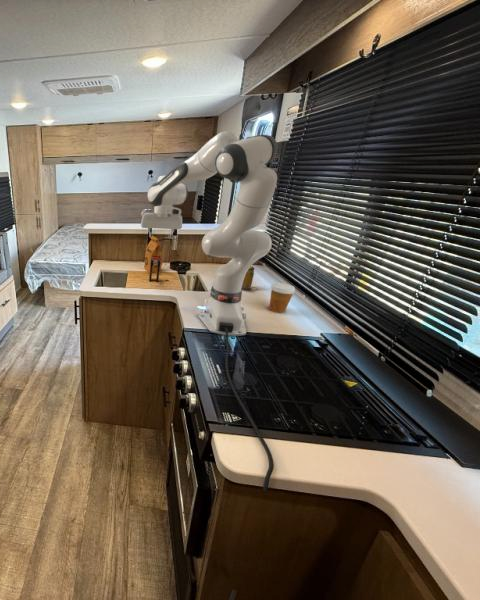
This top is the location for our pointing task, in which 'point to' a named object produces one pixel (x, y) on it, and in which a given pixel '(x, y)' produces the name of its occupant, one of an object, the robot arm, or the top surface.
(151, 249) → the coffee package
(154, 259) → the lever
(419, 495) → the top surface
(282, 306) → the disposable coffee cup
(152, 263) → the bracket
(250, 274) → the condiment
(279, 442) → the top surface
